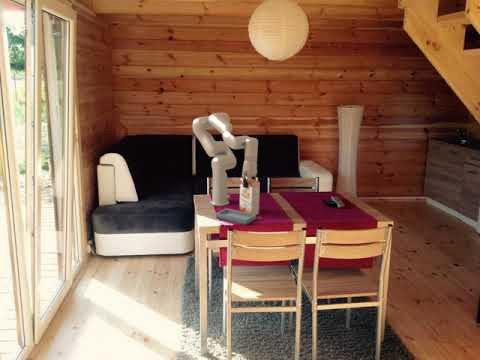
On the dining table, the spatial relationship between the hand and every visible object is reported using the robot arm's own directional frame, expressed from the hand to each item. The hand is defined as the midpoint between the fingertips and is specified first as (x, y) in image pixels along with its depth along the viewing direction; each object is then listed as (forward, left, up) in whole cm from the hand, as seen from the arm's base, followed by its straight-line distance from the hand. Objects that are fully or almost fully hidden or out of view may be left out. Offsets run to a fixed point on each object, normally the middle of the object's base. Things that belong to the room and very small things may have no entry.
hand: (249, 186), depth 278 cm
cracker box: (0, 0, -17) cm, 17 cm away
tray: (+16, 0, -17) cm, 23 cm away
